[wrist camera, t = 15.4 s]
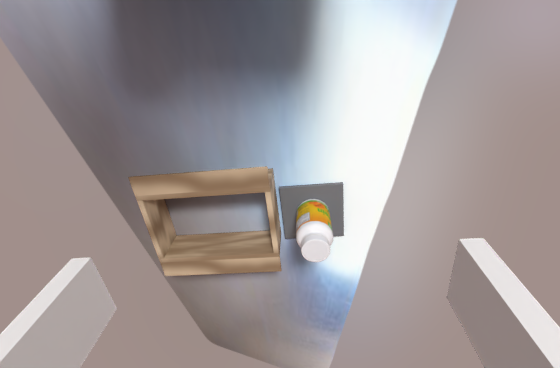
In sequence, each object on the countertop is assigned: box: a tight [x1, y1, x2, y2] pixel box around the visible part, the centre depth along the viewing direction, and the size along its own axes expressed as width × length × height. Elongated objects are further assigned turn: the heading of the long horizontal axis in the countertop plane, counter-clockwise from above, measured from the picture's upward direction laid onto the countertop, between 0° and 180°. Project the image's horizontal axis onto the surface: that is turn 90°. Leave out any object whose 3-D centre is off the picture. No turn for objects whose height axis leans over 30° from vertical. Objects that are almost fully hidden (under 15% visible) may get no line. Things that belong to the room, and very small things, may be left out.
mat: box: [279, 182, 344, 239], centre depth 51 cm, size 10×10×1 cm
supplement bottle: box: [296, 199, 333, 262], centre depth 46 cm, size 5×5×10 cm
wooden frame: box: [129, 166, 281, 276], centre depth 49 cm, size 19×20×6 cm
